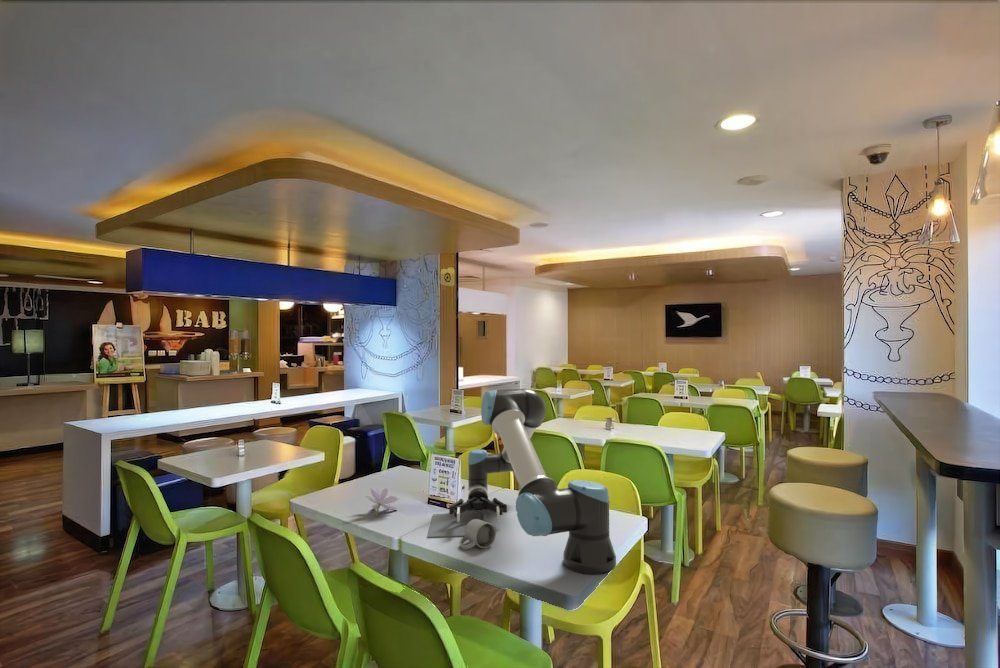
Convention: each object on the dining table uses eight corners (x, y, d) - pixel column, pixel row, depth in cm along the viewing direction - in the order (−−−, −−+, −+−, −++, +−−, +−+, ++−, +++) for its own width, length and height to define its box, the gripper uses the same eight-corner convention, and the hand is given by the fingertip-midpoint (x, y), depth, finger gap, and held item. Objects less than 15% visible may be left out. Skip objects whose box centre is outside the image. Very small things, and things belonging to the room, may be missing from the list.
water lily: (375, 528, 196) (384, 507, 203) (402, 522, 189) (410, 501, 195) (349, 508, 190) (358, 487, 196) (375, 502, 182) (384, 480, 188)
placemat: (481, 536, 169) (481, 534, 169) (427, 537, 168) (427, 536, 168) (481, 513, 191) (481, 512, 191) (433, 515, 190) (433, 514, 190)
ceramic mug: (482, 537, 168) (481, 514, 168) (496, 545, 161) (495, 521, 161) (454, 545, 162) (454, 521, 162) (468, 554, 155) (467, 529, 155)
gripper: (511, 506, 192) (515, 527, 171) (445, 508, 191) (441, 529, 170) (510, 486, 192) (515, 504, 171) (444, 488, 191) (441, 506, 170)
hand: (478, 517), depth 170 cm, fingers open, 13 cm apart
